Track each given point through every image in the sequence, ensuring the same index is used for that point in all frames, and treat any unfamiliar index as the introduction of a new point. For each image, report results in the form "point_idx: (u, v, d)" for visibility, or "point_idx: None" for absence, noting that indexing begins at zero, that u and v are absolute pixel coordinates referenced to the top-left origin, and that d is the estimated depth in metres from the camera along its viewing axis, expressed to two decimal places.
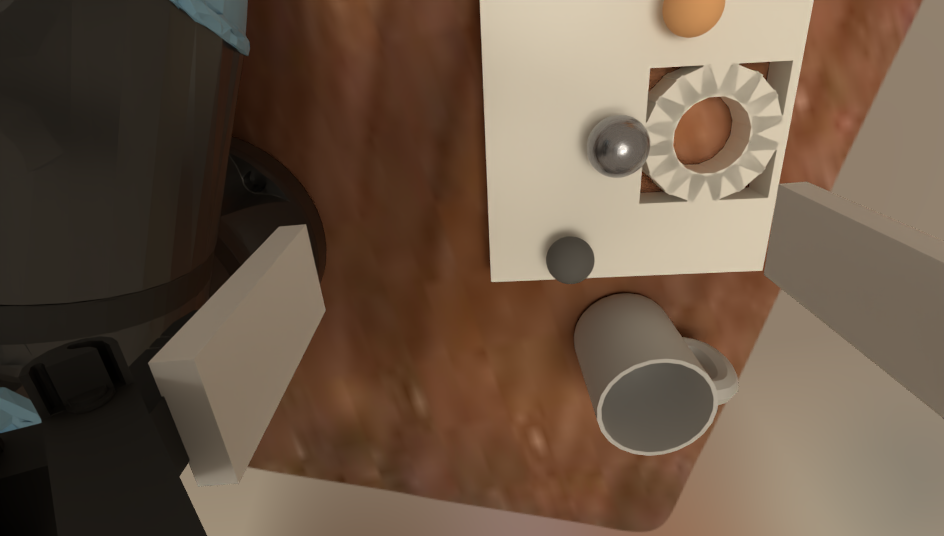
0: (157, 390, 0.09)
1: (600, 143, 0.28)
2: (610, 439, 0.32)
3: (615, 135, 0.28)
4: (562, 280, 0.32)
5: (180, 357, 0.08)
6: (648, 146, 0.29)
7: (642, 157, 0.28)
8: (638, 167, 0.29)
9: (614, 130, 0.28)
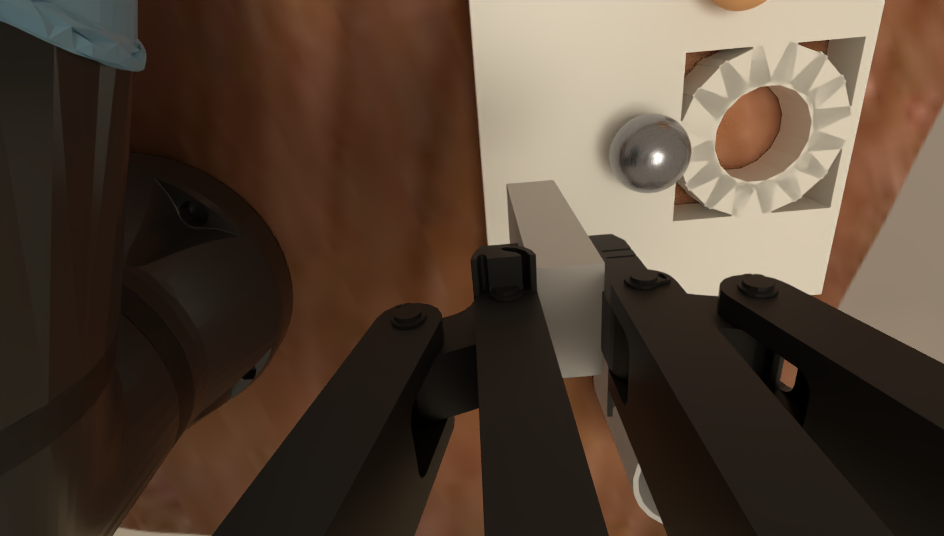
0: None
1: (629, 151, 0.22)
2: (649, 513, 0.26)
3: (648, 141, 0.22)
4: None
5: (554, 265, 0.10)
6: (690, 153, 0.22)
7: (682, 167, 0.22)
8: (677, 179, 0.23)
9: (647, 134, 0.22)
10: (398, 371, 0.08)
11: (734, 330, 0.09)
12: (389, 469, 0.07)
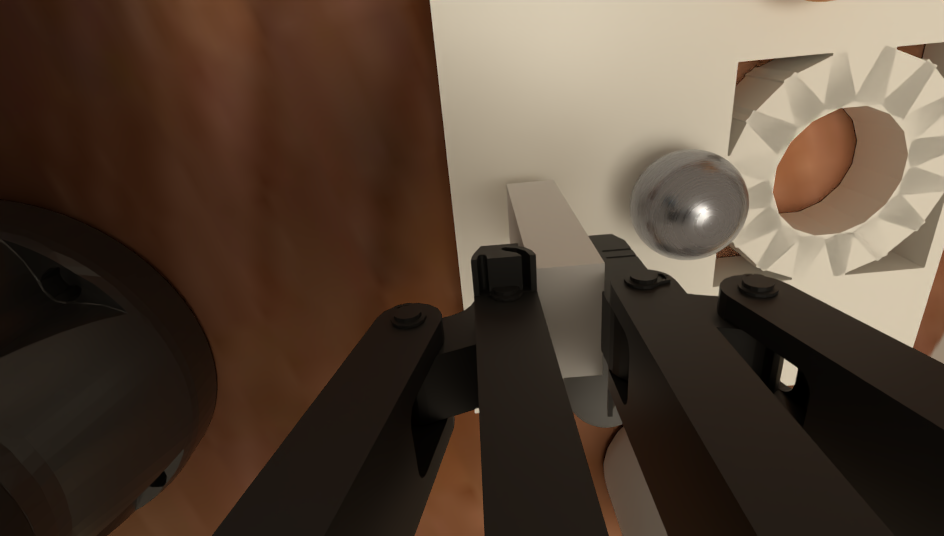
0: None
1: (660, 206, 0.15)
2: None
3: (690, 192, 0.15)
4: (593, 424, 0.19)
5: (554, 265, 0.10)
6: (748, 206, 0.16)
7: (738, 228, 0.15)
8: (728, 244, 0.16)
9: (687, 182, 0.15)
10: (398, 371, 0.08)
11: (734, 330, 0.09)
12: (389, 469, 0.07)
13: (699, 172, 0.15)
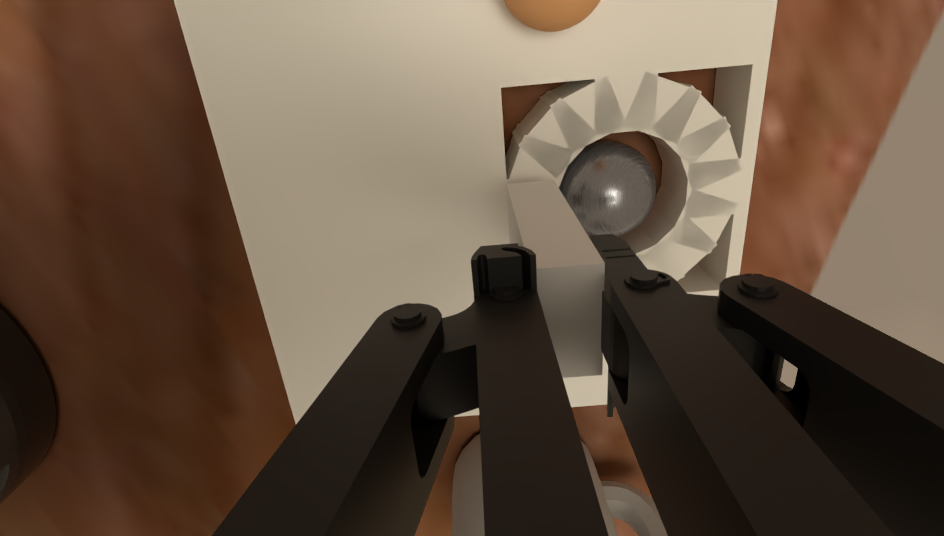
0: None
1: None
2: None
3: None
4: None
5: (554, 265, 0.10)
6: None
7: None
8: None
9: None
10: (398, 371, 0.08)
11: (734, 330, 0.09)
12: (389, 469, 0.07)
13: None
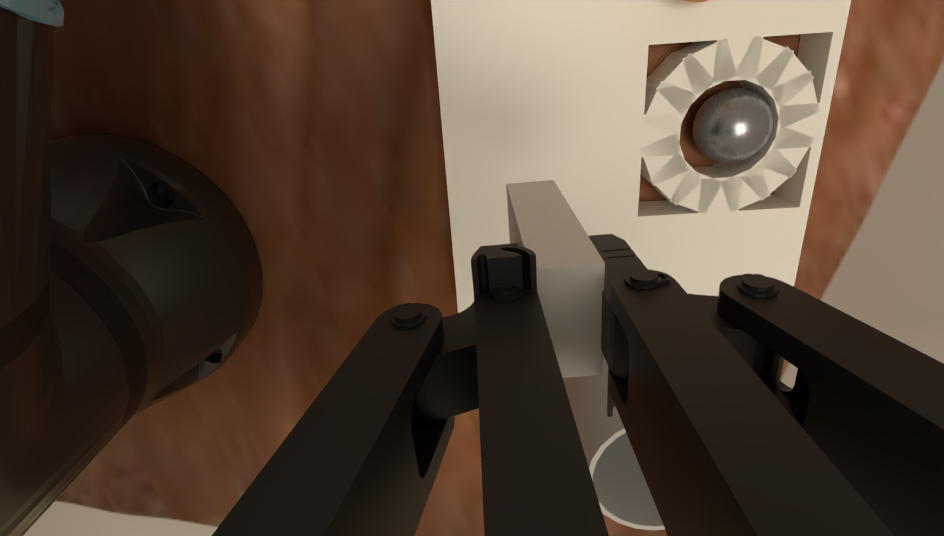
0: None
1: None
2: (605, 511, 0.26)
3: None
4: None
5: (554, 265, 0.10)
6: (707, 127, 0.24)
7: (698, 137, 0.25)
8: (704, 150, 0.25)
9: None
10: (398, 371, 0.08)
11: (733, 330, 0.09)
12: (389, 469, 0.07)
13: None
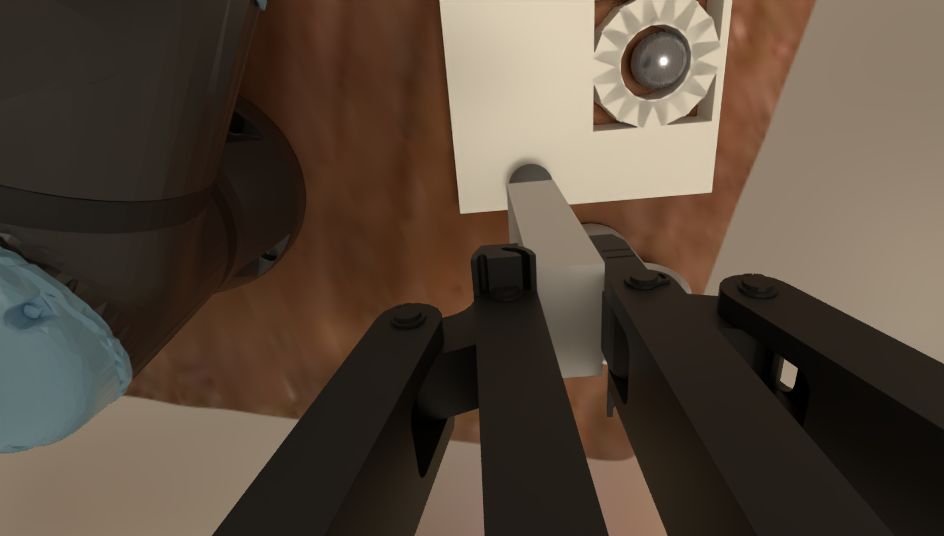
0: None
1: None
2: None
3: None
4: None
5: (554, 265, 0.10)
6: (639, 60, 0.33)
7: (633, 69, 0.34)
8: (639, 78, 0.34)
9: None
10: (398, 371, 0.08)
11: (733, 330, 0.09)
12: (389, 469, 0.07)
13: None
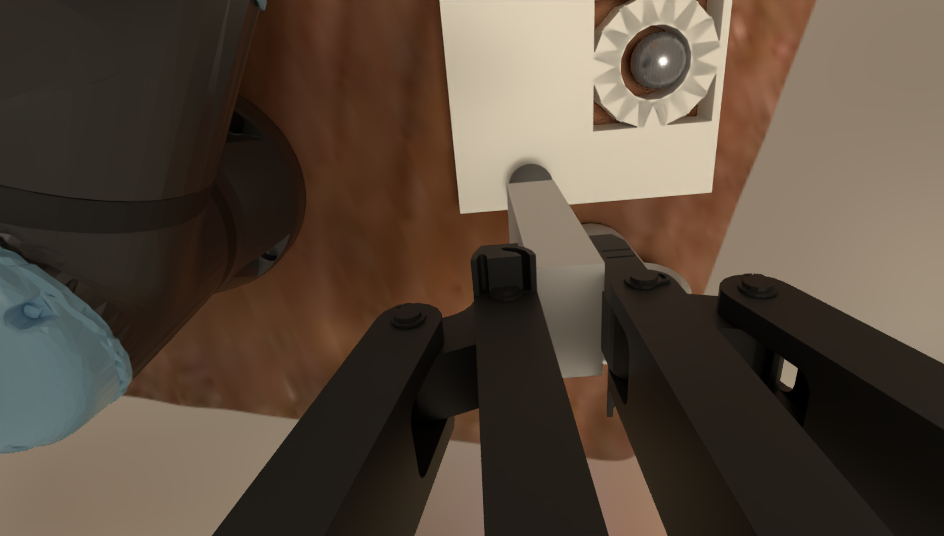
0: None
1: None
2: None
3: None
4: None
5: (554, 265, 0.10)
6: (638, 60, 0.33)
7: (633, 69, 0.34)
8: (638, 78, 0.34)
9: None
10: (398, 371, 0.08)
11: (733, 330, 0.09)
12: (389, 469, 0.07)
13: None
